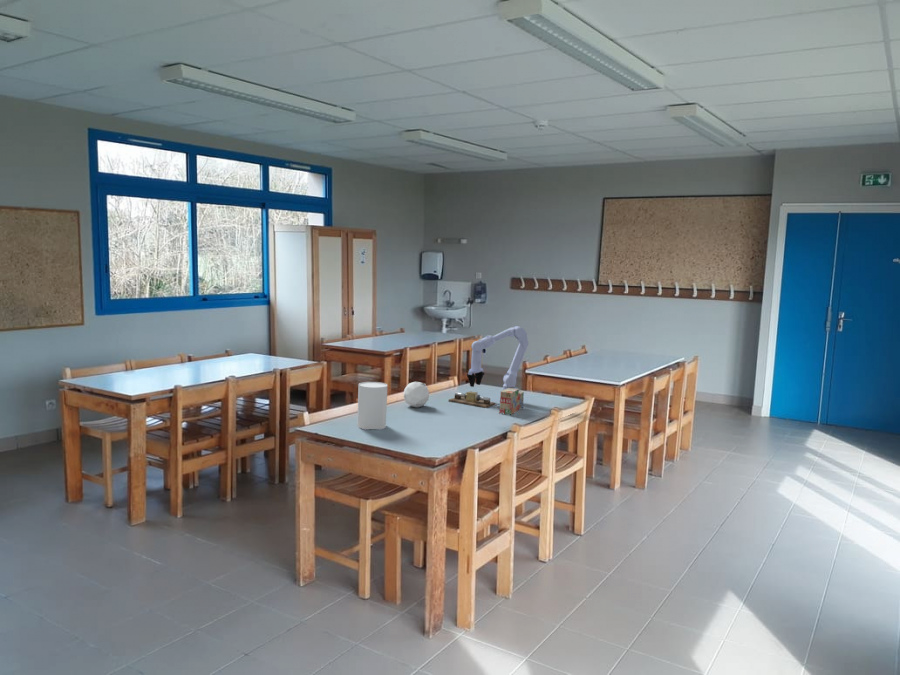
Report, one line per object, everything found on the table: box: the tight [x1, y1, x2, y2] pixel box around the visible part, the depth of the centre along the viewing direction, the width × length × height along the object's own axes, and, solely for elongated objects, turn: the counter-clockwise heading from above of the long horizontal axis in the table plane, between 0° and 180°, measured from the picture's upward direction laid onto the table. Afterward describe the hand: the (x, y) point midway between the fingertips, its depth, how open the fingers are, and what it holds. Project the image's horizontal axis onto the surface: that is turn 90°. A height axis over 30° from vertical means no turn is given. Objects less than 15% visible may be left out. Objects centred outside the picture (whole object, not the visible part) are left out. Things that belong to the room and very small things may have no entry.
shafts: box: [454, 391, 491, 402], centre depth 378 cm, size 22×4×4 cm, turn 59°
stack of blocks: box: [499, 388, 525, 415], centre depth 364 cm, size 21×6×12 cm, turn 155°
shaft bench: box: [448, 394, 496, 409], centre depth 378 cm, size 24×12×3 cm, turn 59°
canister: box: [356, 381, 388, 430], centre depth 315 cm, size 14×14×20 cm
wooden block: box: [466, 391, 479, 402], centre depth 378 cm, size 5×4×5 cm
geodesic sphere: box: [403, 381, 430, 408], centre depth 361 cm, size 15×14×14 cm
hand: (475, 385), depth 384 cm, fingers open, 7 cm apart
